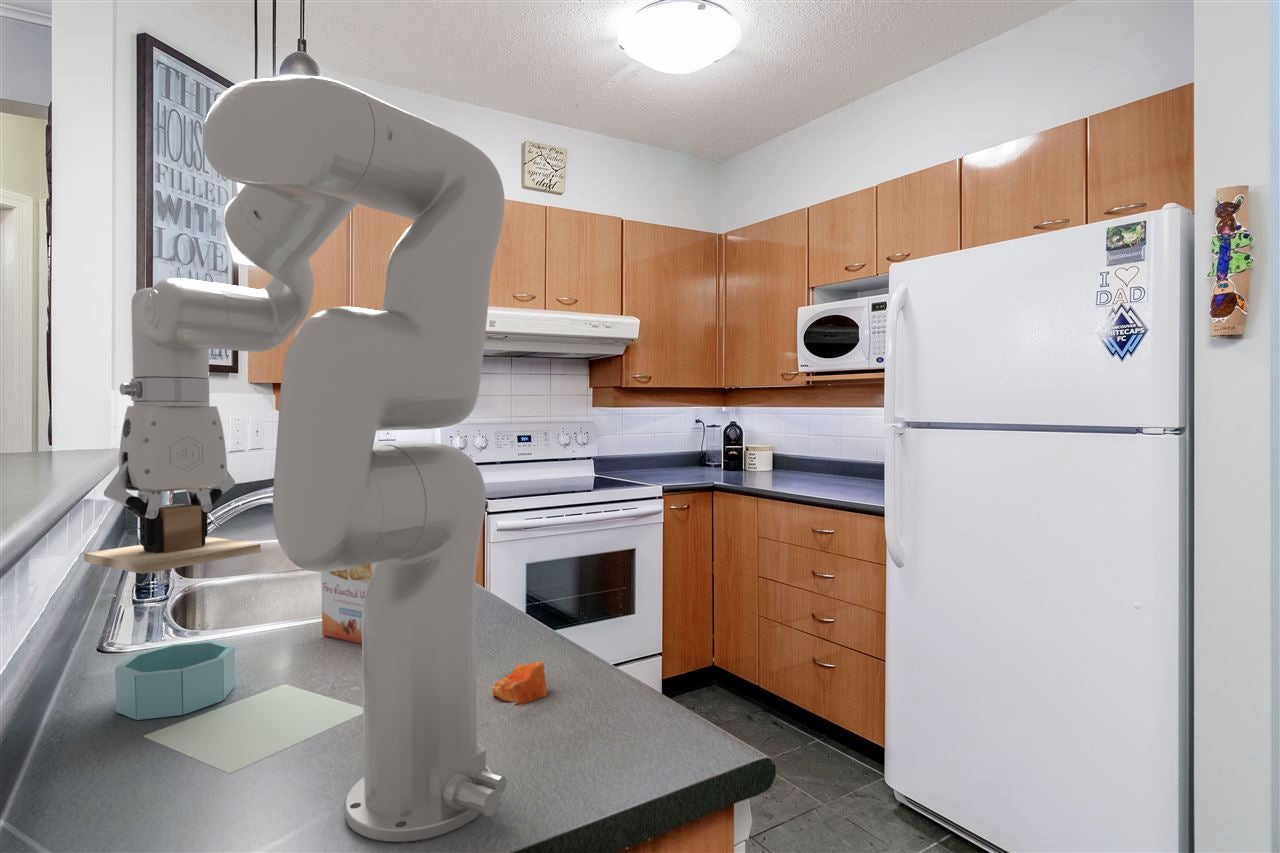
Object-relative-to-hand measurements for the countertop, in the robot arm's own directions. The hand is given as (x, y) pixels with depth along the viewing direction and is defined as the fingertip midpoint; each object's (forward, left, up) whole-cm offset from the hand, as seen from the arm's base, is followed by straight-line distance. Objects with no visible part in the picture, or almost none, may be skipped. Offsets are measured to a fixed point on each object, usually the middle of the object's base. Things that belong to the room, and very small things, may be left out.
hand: (175, 546), depth 82 cm
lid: (0, 0, -1) cm, 1 cm away
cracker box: (0, -27, -19) cm, 33 cm away
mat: (-15, -1, -19) cm, 24 cm away
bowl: (0, 0, -19) cm, 19 cm away
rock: (-35, -22, -20) cm, 45 cm away
